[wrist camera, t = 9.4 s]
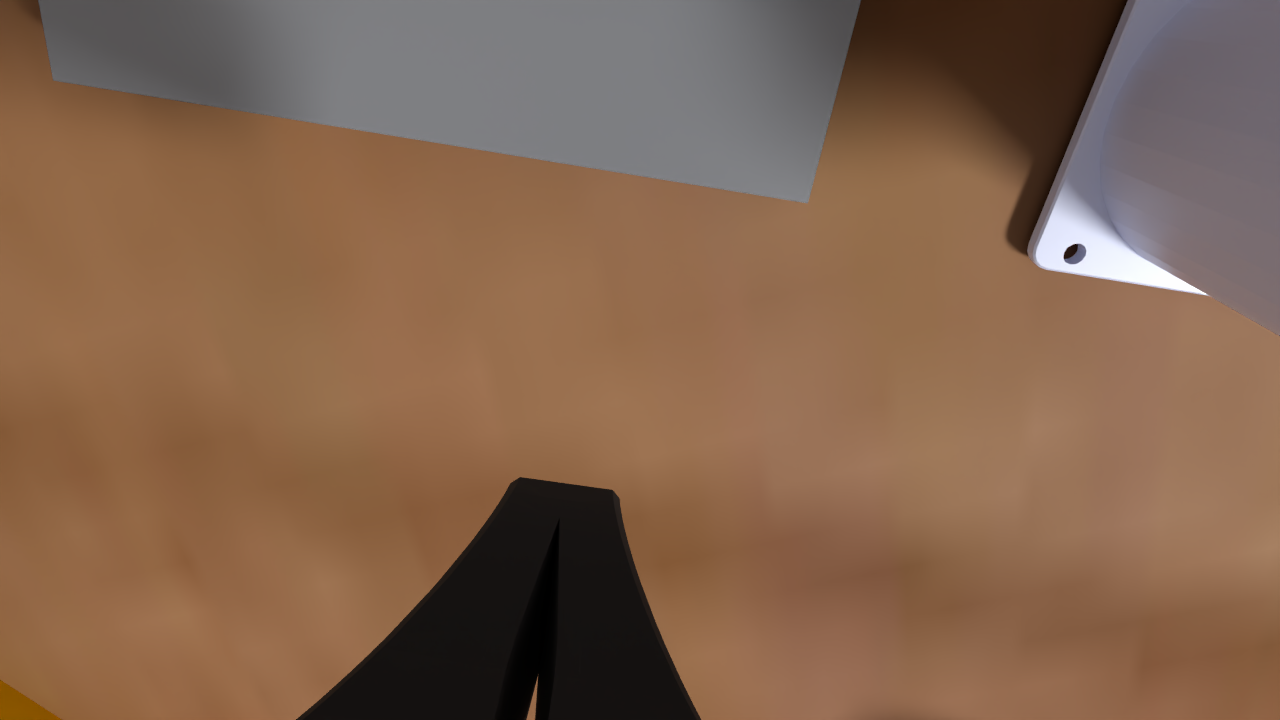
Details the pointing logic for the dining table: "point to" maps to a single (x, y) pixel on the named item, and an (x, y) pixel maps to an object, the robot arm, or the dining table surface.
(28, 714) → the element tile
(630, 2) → the box
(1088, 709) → the dining table surface
